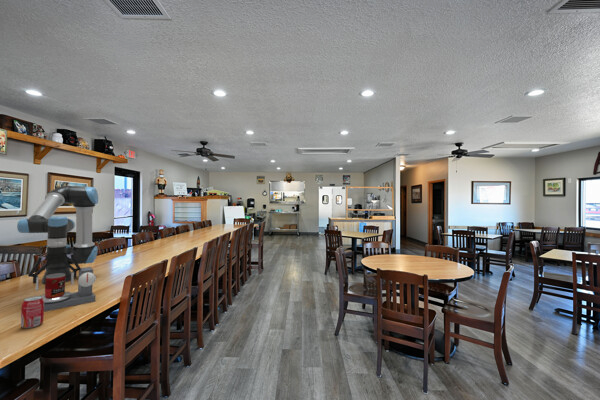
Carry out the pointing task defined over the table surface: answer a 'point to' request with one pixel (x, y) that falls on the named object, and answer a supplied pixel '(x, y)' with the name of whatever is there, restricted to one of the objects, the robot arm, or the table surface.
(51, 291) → the canned food
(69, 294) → the pan
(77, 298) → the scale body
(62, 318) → the table surface
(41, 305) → the soda can
